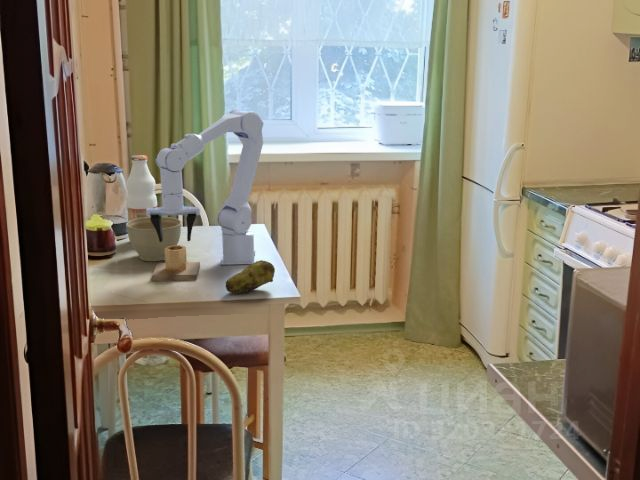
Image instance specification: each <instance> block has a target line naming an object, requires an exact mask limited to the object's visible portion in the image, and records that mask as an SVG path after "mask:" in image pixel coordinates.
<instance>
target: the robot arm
mask: <svg viewBox="0 0 640 480" xmlns="http://www.w3.org/2000/svg"><path fill="white" fill-rule="evenodd" d="M263 127H264V122H263V119H261V117H260V115H259V114H258V113H257V112H255V111H247V110H246V111H244V110H239V109H232V110H230V111H229V112H228V113H227V112H226V113H225V114H223V115H222V117H221V118H220V119H218V120H217V121H215V122H214V123H212V124H211V125H210V126H209V127H207V128H205V129H204V130H202V131H201V132H200V133H198V134H196V133H186V134H184V136H183V137H184V138H182V139H181V140H179V141H178V142H175V143H174V142H173V143H171V144H170V147H169V148H168V147H165V148H162V149H160V151H159V152H158V154H157V155H156V156H157V157H156V158H155V164H156V165H157V167H158V168H159V171H160V186H161V187H160V188H161V203H162V206H159V207H158V206H157V208H147V209H146V216H151V218H150V220H151V222H152V224H153V226H154V227H155V229H156V232H157V234H158V237H159V242H162V241H163V234H162V217H166V216H186V228H187V229H186V230H187V232H186V233H187V234H186V235H187V236H186V237H187V238H186V240H187V242H190V241H192V239H191V237H192V231H193V227H194V223H195V222H196V218H197V216H201V207H200V206H186V205H184V190H183V189H184V188H183V187H184V186H183V171H182V170H183V169H184V167H185V165H186V163H187V162H189V161H191V160H192V159H193V158H195V157H197V156H198V155H199V154H201V153H203V152H204V150H205V147H206V145H207V144H209V143H211V142H212V141H214V140H216V139H218V138H220V137H222V136H223V135H225V134H227V133H233V134H234V135H235V136H237V138H238V139H239V141H240V142H241V144H242V148H241V152H240V155H239V160H238V162H237V163H238V164H237V168H236V171H235V174H234V175H235V176H234V178H233V183H232V187H231V191H230V194H229V197H228V198H227V199H226V200H225V201H224V202H223V203H222V207H221V209H220V210H219V211H218V213H217V216H216V222H217V224H218V226H219V227H221V237H222V239H221V240H222V241H221V242H222V255H221V256H222V257H221V264H220V265H222V266H225V265H229V266H230V265H251V264H253V263H255V257H256V250H255V243H254V242H255V240H254V239H255V237H254V236H255V235H254V231H249V230H250V228H251V226H252V212H253V211H252V208H251V206H250V204H249V199H250V196H251V192H252V188H253V183H254V180H255V176H256V172H257V168H258V165H259V161H260V157H261V154H262V150H263V145H264V137H263Z"/></svg>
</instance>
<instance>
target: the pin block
mask: <svg viewBox="0 0 640 480" xmlns="http://www.w3.org/2000/svg"><path fill="white" fill-rule="evenodd" d="M200 270H201V262H200V261H191V262H190V261H187V269H186V270H183V271H180V272H170V271H167V270H166V264H165V262H157V264H156V266H155V268H154V271H153V272H152V275H151V281H152V282H160V281H167V280H169V281H197V279H198V276H199V271H200Z"/></svg>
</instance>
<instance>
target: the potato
mask: <svg viewBox="0 0 640 480" xmlns="http://www.w3.org/2000/svg"><path fill="white" fill-rule="evenodd" d="M275 272H276V268H275V266H274V265H273V263H271V262H269V261H267V260H263V259H261V260H257V261H254V263H253V264H248V266H247V267H245V268H244V269H243V270H241V272H238V273H236V274H234V275H232V276H230V277H229V278H228V279H227V280H226V281H225V290H226V291H227V292H228V293H230V294H233V295H234V294H239V293H246V292H251V291H254V290H257V289H258V288H260V287H262V286H264V285H266V284H269V283H273V281H274V277H275Z"/></svg>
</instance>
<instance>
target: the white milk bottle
mask: <svg viewBox="0 0 640 480" xmlns="http://www.w3.org/2000/svg"><path fill="white" fill-rule="evenodd" d="M130 158H131V159H130V160H131V164H132V166H131V168H130V173H129V176H128V177H127V179H126V183H125V185H126V190H127V193H128V194H127V196H126V197H127V198H126V208H127V219H128V221H127V222H129V221H131V220H134V219H139V218H146V217H151V216H146V209H147V208H157V207H158V200H157V199H158V198H157V195H156V192H155V191H156V185H157V184H156V180H155V178H154V177H153V175H152V174H151V171H150V169H149V167H148V163H147V162H148V156H147V155H144V154H136V155H132V156H131V157H130ZM129 242H130V241H129ZM130 244H131V242H130Z"/></svg>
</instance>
